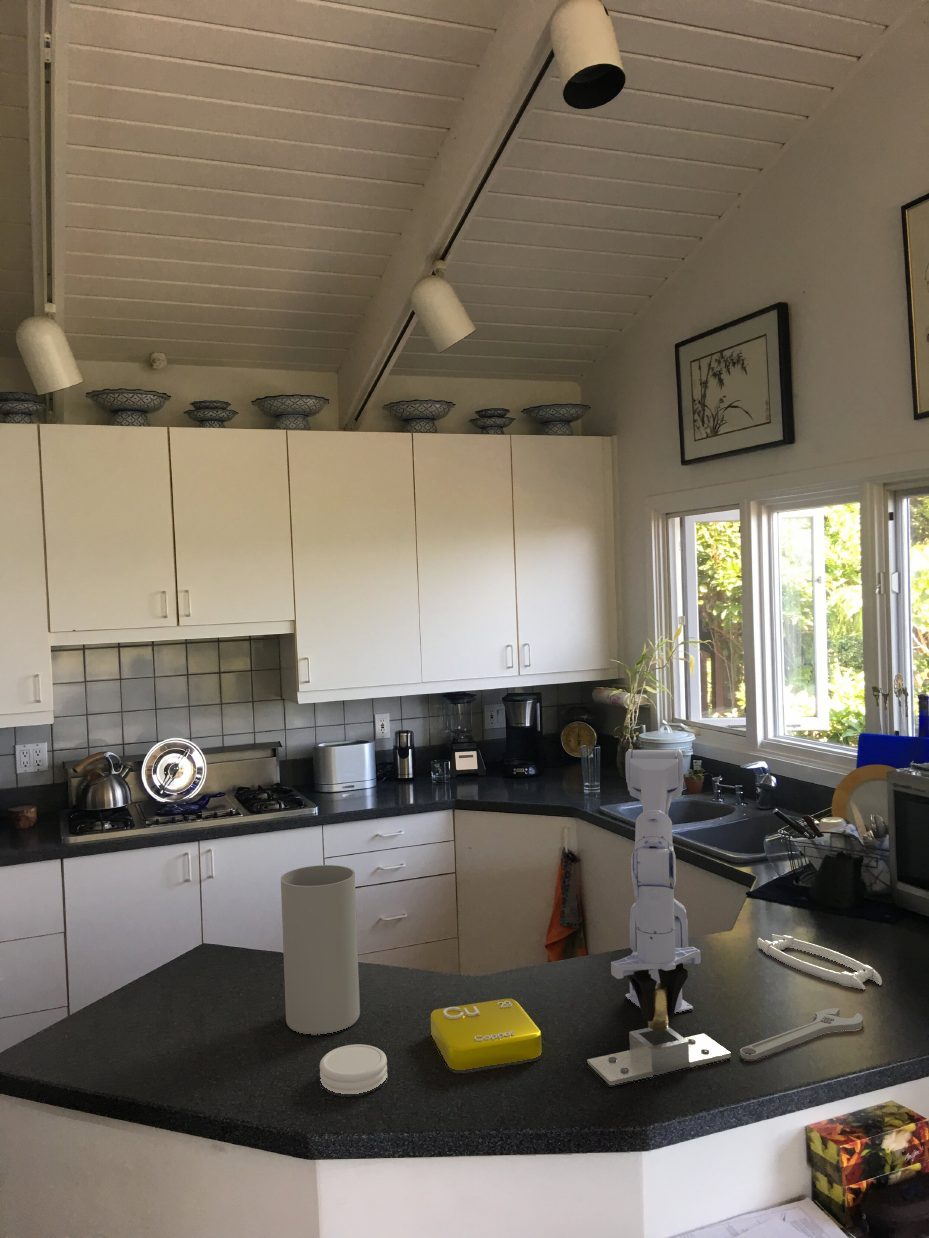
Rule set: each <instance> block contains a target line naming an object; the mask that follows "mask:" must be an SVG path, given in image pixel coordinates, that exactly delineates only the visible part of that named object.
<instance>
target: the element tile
mask: <svg viewBox="0 0 929 1238" xmlns="http://www.w3.org/2000/svg"><path fill="white" fill-rule="evenodd" d="M541 1031H542V1030H540V1029H539V1027H538V1026H537V1025H536V1024H535V1022H534V1020H533V1019H531V1017H530V1016H529V1015H528V1013H527V1012H526V1011H525V1009H524V1008H523V1007H522V1006H521V1005H520V1004H519V1002H517V1000H515V999H513V998H503V999H495V1000H488V1001H481V1002H477V1003H471V1004H470V1003H469V1004H468V1003H467V1004H463V1005H456V1006H449V1007H442V1008H437V1009H436V1008H435V1009H434V1010H433V1011H432V1012H431V1014H430V1033H431V1034H430V1035H432V1037H433V1039H434V1040H435V1042H436V1044H437V1046H438V1048H439V1049H440V1051H441V1054H442V1055H443V1057H444V1059H445V1061H446V1062H447V1064H448V1066H449V1067H450V1068H452V1069H455V1070H466V1069H472V1068H479V1067H484V1066H490V1065H497V1064H504V1063H511V1062H517V1061H523V1060H527V1059H533V1058H536V1057H538V1056H540V1055H541V1053H542V1049H543V1047H542V1032H541ZM542 1054H543V1053H542Z"/></svg>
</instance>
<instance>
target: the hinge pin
mask: <svg viewBox="0 0 929 1238" xmlns="http://www.w3.org/2000/svg"><path fill="white" fill-rule="evenodd" d="M647 1026H648V1027H647V1028H650V1029H653V1030H657V1031H662V1030H666V1029H667V1028H668V1026H669V1016H668V997H667V986H666V985H664V984H661V983H656V987H655V992H654V1018H653V1021H650V1022H649V1021H647Z"/></svg>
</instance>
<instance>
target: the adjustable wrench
mask: <svg viewBox="0 0 929 1238" xmlns="http://www.w3.org/2000/svg"><path fill="white" fill-rule="evenodd" d="M840 1011H841V1010H840V1008H837V1007H836V1008H835V1007H834V1008H833V1007H831V1008H825V1009H822V1010H819V1011H815V1012H814V1015H813V1021H812V1022H810V1023H807V1024H805V1025H801V1026H799V1027H795V1028H793V1029H789V1030H788V1031H787V1030H786V1032H782V1033H779V1034H777V1035H773V1036H771V1037H769V1038H765V1039H763V1040H759V1041H758V1042H754V1043H751V1044H748V1045H747V1046H744V1047H741V1048H740V1049H739V1056H740V1055H741V1056H742V1057H743V1058H746V1059H757V1058H759V1057H761V1056H764V1055H767V1054H770V1053H772V1052H775V1051H778V1050H779V1049H783V1048H786V1047H788V1046H790V1045H794V1044H796V1043H799V1042H801V1041H804V1040H806V1039H809V1038H812V1037H814V1036H818V1035H820V1034H823V1033H827V1032H834V1031H841V1030H842V1031H843V1030H844V1031H845V1030H856V1029H860V1028H862V1026H863V1027H864V1022H863V1020H864V1017H863V1016H862V1014H861V1013H858V1012H856V1014H855V1015H854V1016H853V1017H851V1018H850V1017H841V1015H840V1014H841V1013H840ZM839 1015H840V1016H839ZM838 1016H839V1017H838ZM862 1029H863V1028H862ZM818 1037H819V1036H818ZM746 1052H747V1053H751V1055H749V1054H745V1053H746Z"/></svg>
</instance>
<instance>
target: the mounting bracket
mask: <svg viewBox="0 0 929 1238" xmlns="http://www.w3.org/2000/svg"><path fill="white" fill-rule="evenodd" d="M628 1033H629V1034H628V1035H629V1037H628V1038H629V1049H628V1050H624V1051H621V1052H616V1053H610V1054H606V1055H602V1056H597V1057H592V1058H588V1059H587V1060H586V1061H587V1063H588V1064H589V1065H590V1066H591V1067H592V1068H593V1069H594V1070H595V1071H596V1072H597V1073H598V1074H599V1075H600V1076H601V1077H602V1078H603V1079H604V1080H605V1081H606V1082H607V1083H608V1084H609V1085H615V1084H619V1083H623V1082H627V1081H633V1080H638V1079H642V1078H646V1077H653V1075H658V1076H660V1075H659V1074H662V1075H665V1074H664V1073H666V1072H670V1071H675V1070H678V1069H681V1068H685V1067H694V1066H696V1065H702V1064H706V1063H710V1062H714V1061H718V1060H722V1059H725V1058H729V1057H731V1058H732V1052H731V1051H729V1050H727V1049H726V1048H725V1047H724V1046H723V1045H720V1044H719V1043H718V1042H716V1041H715V1040H714V1039H712V1038H711V1037H710V1036H708V1035H707V1034H706V1033H700V1034H696V1035H691V1036H686V1037H683V1036H682V1035H681V1034H679V1033H678V1032H676V1031H675V1030H674V1029H673V1028H671V1027H670V1026H669V1025H668V1028H667V1029H666V1030H662V1031H657V1030H653V1029H650V1028H649V1027H645V1028H640V1029H637V1030H631V1031H629V1032H628ZM675 1072H676V1071H675ZM666 1074H667V1073H666ZM653 1078H654V1077H653Z"/></svg>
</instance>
